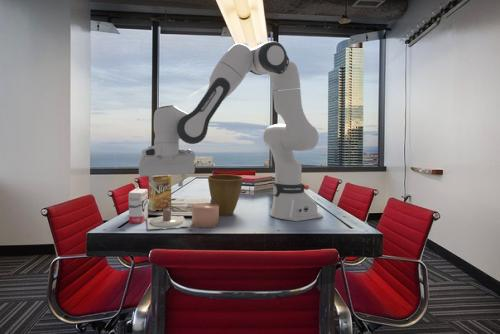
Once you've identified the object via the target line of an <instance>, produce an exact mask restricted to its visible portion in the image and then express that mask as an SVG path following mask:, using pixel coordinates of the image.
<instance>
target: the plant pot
mask: <svg viewBox="0 0 500 334" xmlns="http://www.w3.org/2000/svg"><path fill="white" fill-rule="evenodd" d="M243 180H244V177H243V176H241V175H236V174H225V173H224V174H211V175H209V176H207V182H208V189H209V193H210V199H211V202H212V203H213V204H217V205H219V216H225V217H228V216H231V215H233V214H234V212H235V210H236V208H237V205H238V202H239V198H240V194H241V191H242V185H243Z"/></svg>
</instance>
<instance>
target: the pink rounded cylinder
mask: <svg viewBox="0 0 500 334" xmlns="http://www.w3.org/2000/svg"><path fill="white" fill-rule="evenodd" d="M191 207H192V208H191V209H192V210H191V214H192V215H191V222H192V223H191V225H192V227H195V226H197V227H196V228H198V227H212V228H215V227H214V226H216V227H217V225H218V226H219V224H220V222H219V219H220V218H219V217H220V215H219V205H217V204H213V203H211V202H201V203H200V202H199V203H195V204H193V205H192V206H191Z"/></svg>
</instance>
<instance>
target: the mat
mask: <svg viewBox="0 0 500 334" xmlns="http://www.w3.org/2000/svg"><path fill="white" fill-rule="evenodd" d="M178 217H181V218H183V223H182V224H180V225H177V226H171V227H158V226H153V225H151V223H150V220H151V219H153V218H154V217H148V218H147V219H146V225H147V231H148V230H149V229H163V228H176V227H188V228H189V225H188V222H187V221H186V219H185V216H183V215H178Z"/></svg>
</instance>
